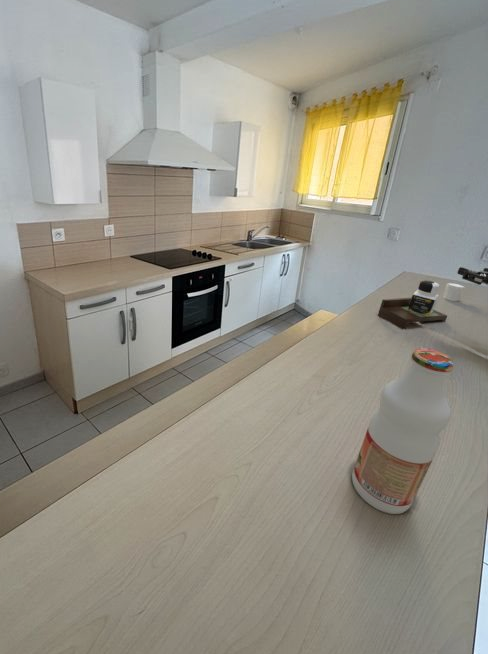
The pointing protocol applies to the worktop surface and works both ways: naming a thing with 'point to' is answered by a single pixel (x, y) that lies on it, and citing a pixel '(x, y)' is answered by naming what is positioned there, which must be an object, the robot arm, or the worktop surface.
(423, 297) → the medicine bottle
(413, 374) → the fruit juice
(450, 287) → the white cylinder
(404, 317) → the dark wooden tray
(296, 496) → the worktop surface
